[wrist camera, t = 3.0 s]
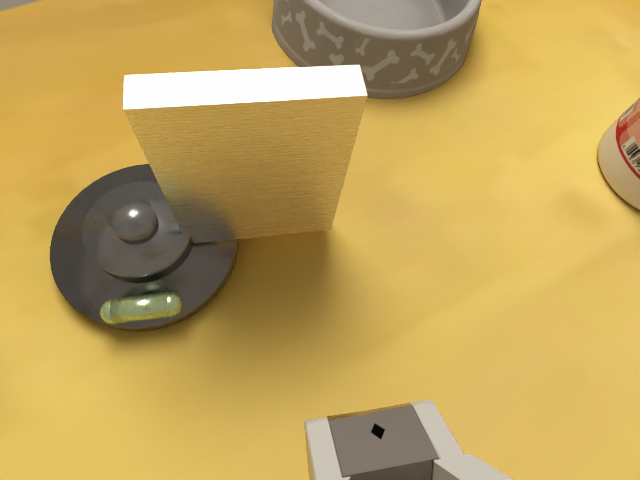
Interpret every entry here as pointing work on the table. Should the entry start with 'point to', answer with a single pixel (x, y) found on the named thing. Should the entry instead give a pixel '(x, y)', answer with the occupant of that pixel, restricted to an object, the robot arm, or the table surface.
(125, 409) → the table surface
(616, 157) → the white plastic bottle
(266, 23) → the table surface
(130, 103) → the upright slab
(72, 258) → the base
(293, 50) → the dog bowl
